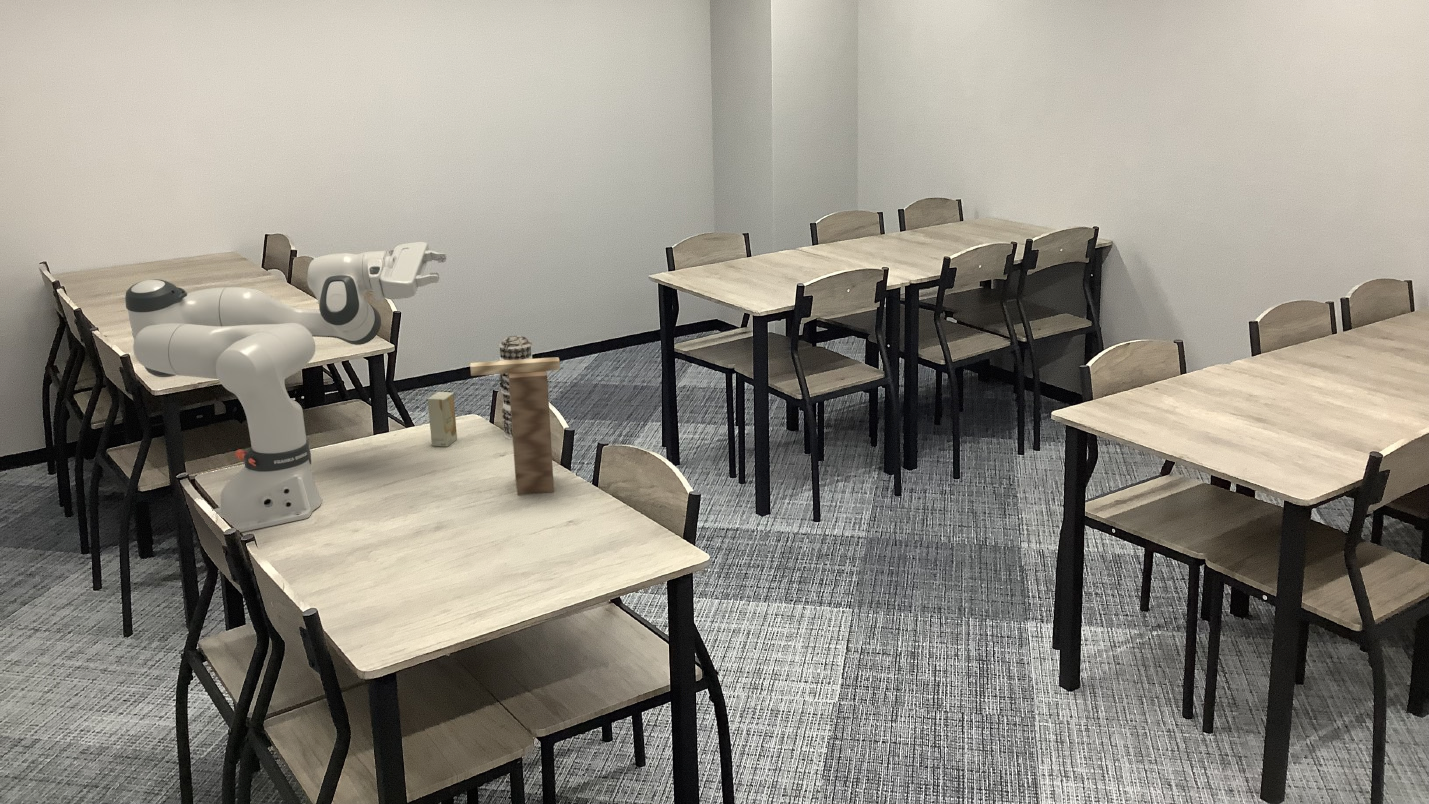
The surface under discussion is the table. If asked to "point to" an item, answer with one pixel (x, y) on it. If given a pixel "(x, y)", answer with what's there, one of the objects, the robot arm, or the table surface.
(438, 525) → the table surface
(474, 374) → the slat
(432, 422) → the skincare box
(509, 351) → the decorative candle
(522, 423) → the pedestal
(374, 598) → the table surface
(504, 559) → the table surface
